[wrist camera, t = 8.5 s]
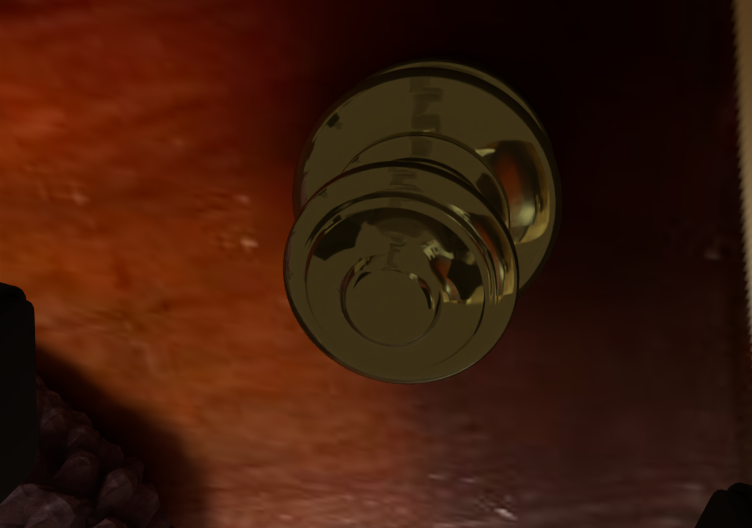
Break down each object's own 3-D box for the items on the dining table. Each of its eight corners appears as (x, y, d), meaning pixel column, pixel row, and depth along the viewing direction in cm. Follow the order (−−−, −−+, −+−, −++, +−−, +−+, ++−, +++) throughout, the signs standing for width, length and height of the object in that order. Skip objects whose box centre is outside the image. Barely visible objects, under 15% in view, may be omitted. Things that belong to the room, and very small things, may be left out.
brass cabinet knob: (564, 52, 20) (616, 114, 10) (541, 280, 22) (567, 482, 13) (323, 50, 21) (184, 105, 12) (331, 266, 24) (225, 443, 15)
